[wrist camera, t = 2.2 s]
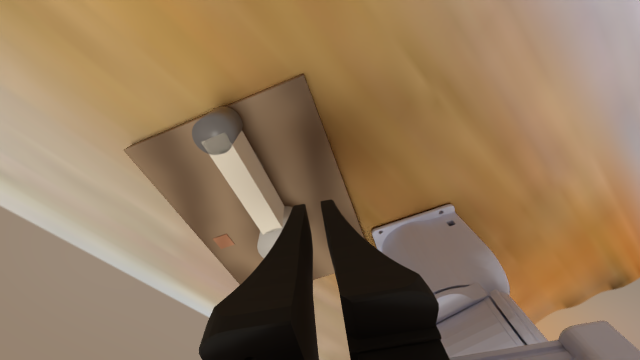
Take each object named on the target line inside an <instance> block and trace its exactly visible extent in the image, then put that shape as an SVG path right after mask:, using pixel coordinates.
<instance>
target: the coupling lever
mask: <svg viewBox="0 0 640 360" xmlns="http://www.w3.org/2000/svg"><path fill="white" fill-rule="evenodd" d="M242 128H243V123H242V120H241V117H240V116H239V115H238V113H237V112H236V111H234V110H233V109H231V108H228V107H217V108H215V109H213V110H212V111H211V112H209V113H208V114H207V115H205V116H204V117H203V118H201V119H200V120H199V121H197V122H196V123H195V124H194V126H193V129H192V138H193V140H194V142H195V144H196V145H197V147H198V148H199V149H201V150H202V151H203V152H205V153H207V154H209V155H210V157H211V158H212V159H213V161H214V162H215V164H216V165H217V167H218V168H219V170H220V171H221V173H222V174H223V176H224V177H225V179H226V180H227V182H228V183H229V185H230V186H231V188H232V189H233V191H234V192H235V194H236V195H237V197H238V198H239V200H240V201H241V203H242V204H243V206H244V207H245V209H246V210H247V212H248V213H249V215H250V216H251V218H252V219H253V221H254V222H255V224H256V225H257V227H258V228H259V230H260V234H259V239H258V244H257V248H258V252H259V254H260V255H261V256H262V257H263V258H265V256H266V255H267V254H268V252H269V251H270V249H271V248H272V246H273V245H274V243H275V242H276V240H277V238H278V237H279V235H280V233H281V231H282V230H283V228H284V226H285V224H286V222H287V219H288V217H289V215H290V213H291V210H292V207H290V206H284V205H283V203H282V201H281V199H280V197H279V196H278V194H277V192H276V190H275V188H274V187H273V185H272V183H271V181H270V180H269V178H268V176H267V174H266V172H265V171H264V169H263V167H262V165H261V163H260V162H259V160H258V158H257V156H256V154H255V153H254V151H253V149H252V147H251V146H250V144H249V142H248V140H247V138H246V137H245V135H244V133H243V131H242Z"/></svg>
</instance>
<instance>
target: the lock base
mask: <svg viewBox="0 0 640 360" xmlns="http://www.w3.org/2000/svg"><path fill="white" fill-rule="evenodd" d="M224 107H228V108H231V109H233V110H234V111H236V112H237V113H238V115H239V116H240V117H241V120H242V123H243V128H242V131H243V133H244V135H245V137H246V138H247V140H248V142H249V144H250V146H251V147H252V149H253V151H254V153H255V154H256V156H257V158H258V160H259V162H260V163H261V165H262V167H263V169H264V171H265V172H266V174H267V176H268V178H269V180H270V181H271V183H272V185H273V187H274V188H275V190H276V192H277V194H278V196H279V197H280V199H281V201H282V203H283V205H284V206H290V207H293V206H294V205H300V204H305V205H306V210H307V215H308V219H309V224H310V228H311V234H312V244H313V280H315V279H318V278H321V277H324V276H327V275H330V274H334V273H335V271H334V268H333V264H332V260H331V256H330V252H329V248H328V244H327V238H326V232H325V227H324V221H323V215H322V210H321V202H320V201H324V200H330V199H332V200H333V201H334V202H335V204H336V206H337V208H338V209H339V211H340V212H341V214H342V215H343V216H344V218H345V219H346V220H347V221H348V222H349V224H350V225H351V226H352V227H353V228H354V229H355V230H356V231H357V232H358V233H359V234H360V235H361V236H362V237H363V238H364V236H363V233H362V230H361V228H360V225H359V222H358V219H357V217H356V214H355V211H354V209H353V206H352V203H351V201H350V198H349V195H348V193H347V190H346V187H345V184H344V182H343V179H342V176H341V174H340V171H339V168H338V166H337V163H336V160H335V158H334V155H333V152H332V150H331V147H330V144H329V141H328V139H327V136H326V133H325V131H324V128H323V125H322V123H321V120H320V117H319V115H318V112H317V109H316V106H315V104H314V101H313V98H312V96H311V93H310V90H309V88H308V85H307V82H306V80H305V77H304V74H301V75H299V76H296V77H294V78H291V79H289V80H287V81H284V82H282V83H279V84H277V85H275V86H272V87H270V88H267V89H265V90H263V91H260V92H258V93H255V94H253V95H251V96H248V97H246V98H243V99H241V100H239V101H236V102H234V103H231V104H229V105H226V106H224ZM207 114H208V113H207ZM207 114H205V115H207ZM205 115H202V116H200V117H198V118H195V119H193V120H190V121H188V122H186V123H183V124H181V125H178V126H176V127H174V128H171V129H169V130H166V131H164V132H162V133H159V134H157V135H154V136H152V137H149V138H147V139H145V140H142V141H140V142H137V143H135V144H133V145H131V146H129V147H127V148H126V149H124V151H125V153H126V154H127V155H128V156H129V157H130V158H131V159H132V161H133V162H134V163H135V164H136V165H137V166H138V168H139V169H140V170H141V171H142V172H143V173H144V174H145V176H146V177H147V178H148V179H149V180H150V181H151V183H152V184H153V185H154V186H155V187H156V188H157V189H158V191H159V192H160V193H161V194H162V195H163V196H164V198H165V199H166V200H167V201H168V202H169V203H170V204H171V206H172V207H173V208H174V209H175V210H176V211H177V213H178V214H179V215H180V216H181V217H182V218H183V219H184V221H185V222H186V223H187V224H188V225H189V226H190V228H191V229H192V230H193V231H194V232H195V233H196V234H197V236H198V237H199V238H200V239H201V240H202V241H203V243H204V244H205V245H206V246H207V247H208V248H209V249H210V251H211V252H212V253H213V254H214V255H215V256H216V257H217V259H218V260H219V261H220V262H221V263H222V264H223V266H224V267H225V268H226V269H227V270H228V271H229V272H230V274H231V275H232V276H233V277H234V278H235V279H236V281H237V282H238V283H239V284H240V285H241V284H242V283H243V282H244V281H245V280H246V279H247V278H248V277H249V276H250V275H251V273H252V272H253V271H254V270H255V269H256V268H257V266H258V265H259V264H260V263H261V262H262V260H263V259H264V258H263V257H262V256H261V255H260V254H259V252H258V248H257V244H258V239H259V234H260V230H259V228H258V227H257V225H256V224H255V222H254V221H253V219H252V218H251V216H250V215H249V213H248V212H247V210H246V209H245V207H244V206H243V204H242V203H241V201H240V200H239V198H238V197H237V195H236V194H235V192H234V191H233V189H232V188H231V186H230V185H229V183H228V182H227V180H226V179H225V177H224V176H223V174H222V173H221V171H220V170H219V168H218V167H217V165H216V164H215V162H214V161H213V159H212V158H211V157H210V155H209V154H207V153H205V152H203V151H202V150H201V149H199V148H198V147H197V145H196V144H195V142H194V140H193V138H192V129H193V126H194V124H195V123H196V122H197V121H199V120H200V119H201V118H203V117H204V116H205ZM364 239H365V238H364Z"/></svg>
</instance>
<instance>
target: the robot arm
mask: <svg viewBox="0 0 640 360" xmlns="http://www.w3.org/2000/svg"><path fill="white" fill-rule="evenodd" d="M320 202H321V210H322V215H323V221H324V227H325V232H326V238H327V244H328V248H329V252H330V256H331V260H332V264H333V268H334V271H335V275H336V279H337V283H338V288H339V293H340V299H341V305H342V311H343V317H344V322H345V328H346V334H347V340H348V346H349V352H350V358H351V360H640V351H639V350H638V349H637V348H636V347H635V346H633V344H631V343H630V342H629V341H628V340H627V339H626V338H625V337H624V336H622V335H621V334H620V333H619V332H618V331H617V330H615V328H614V327H612V326H611V325H610V324H609V323H608V322H606V321H597V322H591V323H585V324H578V325H574V326H570V327H568V328H566V329H565V330H563V331H562V333H561V334H560V336H559V340H555V341H548V340H547V339H546V338H545V337H544V335H543V334H542V333H541V332H540V331H539V330H538V329H537V327H536V326H535V325H534V324H533V323H532V321H531V320H530V319H529V318H528V317H527V316H526V314H525V313H524V312H523V311H522V310H521V309H520V307H519V306H518V305H517V304H516V303H515V302H514V300H513V299H512V298H511V297H510V296H509V294H510V287H509V283H508V279H507V276H506V274H505V272H504V270H503V268H502V266H501V265H500V263H499V261H498V260H497V258H496V257H495V255H494V254H493V253H492V251H491V250H490V249H489V248H488V247H487V246H486V245H485V244H484V242H483V241H482V240H481V239H480V238H479V237H478V236H477V235H476V234H475V233H474V232H473V231H472V230H471V229H470V228H469V227H468V225H467V224H466V223H465V222H464V221H463V220H462V219H461V218H460V217H459V216H458V215H457V214H456V213H455V208H454V206H453V205H452V204H448V205H445V206H442V207H439V208H436V209H433V210H430V211H427V212H424V213H420V214H417V215H414V216H411V217H408V218H405V219H402V220H399V221H396V222H393V223H390V224H387V225H384V226H381V227H378V228H375V229H373V230H372V235H373V238H374V241H375V244H376V247H377V249H376V248H375V247H374V246H372V245H371V244H370V243H369V242H368V241H366V240H365V239H364V238H363V237H362V236H361V235H360V234H359V233H358V232H357V231H356V230H355V229H354V228H353V227H352V226H351V225H350V224H349V222H348V221H347V220H346V219H345V218H344V216H343V215H342V214H341V212H340V211H339V209H338V208H337V206H336V204H335V202H334V201H333V200H332V199H330V200H324V201H320ZM440 211H441V212H440ZM379 231H380V232H379ZM199 354H200V356H201V358H202V360H319V356H318V346H317V336H316V325H315V314H314V302H313V244H312V234H311V228H310V224H309V219H308V215H307V210H306V205H305V204H300V205H294V206H293V207H292V210H291V213H290V215H289V217H288V219H287V222H286V224H285V226H284V228H283V230H282V231H281V233H280V235H279V237H278V238H277V240H276V242H275V243H274V245H273V246H272V248H271V249H270V251H269V252H268V254H267V255H266V256H265V258H264V259H263V260H262V262H261V263H260V264H259V265H258V266H257V268H256V269H255V270H254V271H253V272H252V273H251V275H250V276H249V277H248V278H247V279H246V280H245V281H244V282H243V283H242V284H241V285H240V286H239V287H237V288H236V289H235V290H234V291H233V292H232V293H231V294H230V295H228V296H227V297H226V298H225V299H224V300H223V301H221V302H220V303H219V304H218V305H217V306H215V307H214V309H213V311H212V314H211V316H210V318H209V320H208V323H207V326H206V329H205V332H204V335H203V338H202V341H201V344H200V347H199Z"/></svg>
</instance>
